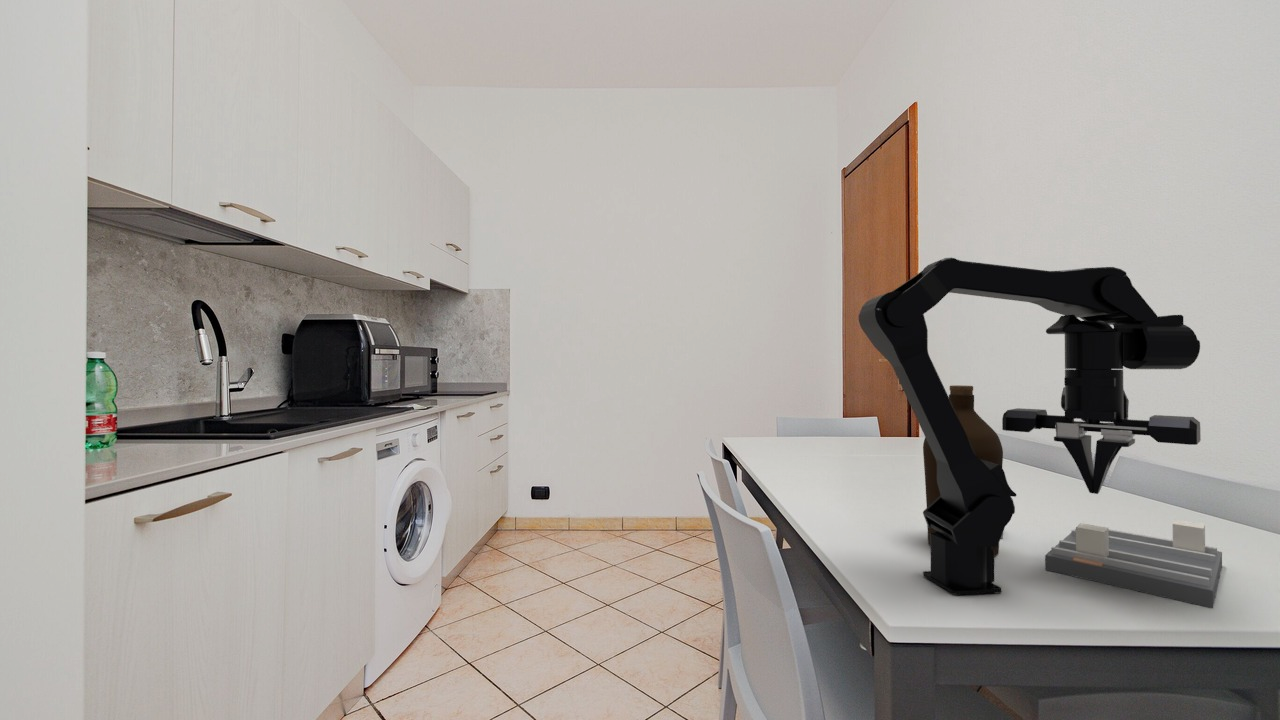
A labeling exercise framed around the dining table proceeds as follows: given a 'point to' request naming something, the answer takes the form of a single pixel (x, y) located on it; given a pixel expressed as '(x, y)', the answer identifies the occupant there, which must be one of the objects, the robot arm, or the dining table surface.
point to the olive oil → (979, 438)
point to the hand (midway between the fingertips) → (1094, 493)
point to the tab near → (1092, 539)
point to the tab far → (1189, 536)
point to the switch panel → (1143, 566)
